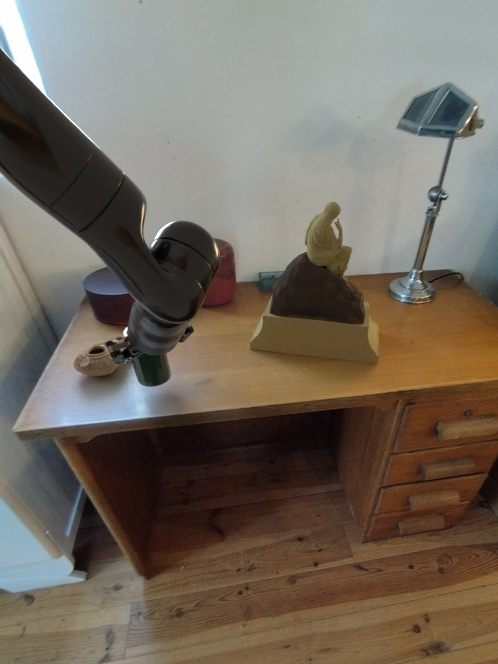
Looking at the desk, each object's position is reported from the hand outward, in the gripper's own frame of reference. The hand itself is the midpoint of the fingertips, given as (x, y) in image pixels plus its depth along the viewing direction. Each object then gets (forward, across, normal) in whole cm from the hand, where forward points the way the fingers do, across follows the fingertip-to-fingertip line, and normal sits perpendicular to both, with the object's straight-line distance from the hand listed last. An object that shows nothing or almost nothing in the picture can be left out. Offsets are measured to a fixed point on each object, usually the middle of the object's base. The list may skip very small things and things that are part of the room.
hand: (145, 352), depth 69 cm
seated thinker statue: (+1, -36, +10) cm, 38 cm away
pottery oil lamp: (+13, +5, -2) cm, 14 cm away
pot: (+2, 0, +4) cm, 5 cm away
